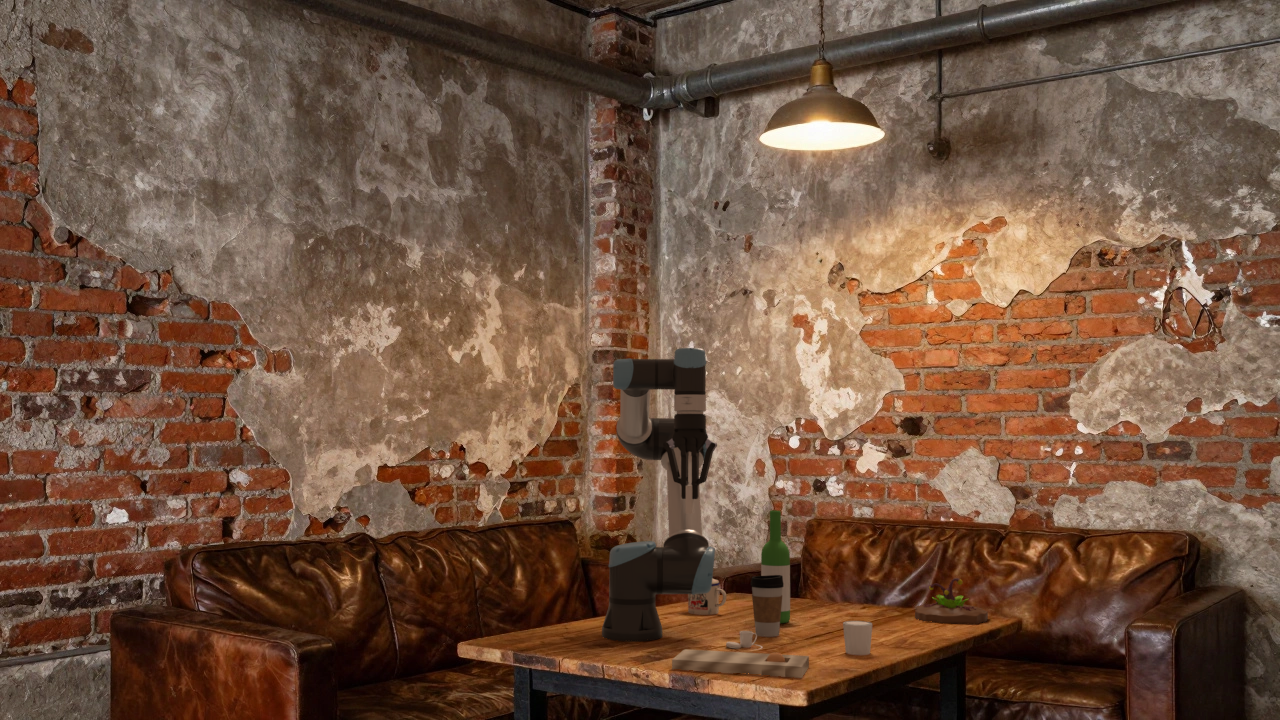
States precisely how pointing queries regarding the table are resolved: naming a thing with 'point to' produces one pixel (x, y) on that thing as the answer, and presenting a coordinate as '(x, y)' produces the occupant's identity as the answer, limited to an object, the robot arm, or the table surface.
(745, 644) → the teacup and saucer
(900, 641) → the table surface
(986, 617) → the plant
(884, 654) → the table surface
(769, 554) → the wine bottle
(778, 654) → the ball
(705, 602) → the teacup with lid
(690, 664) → the box with square hole
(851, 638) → the white cup
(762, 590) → the coffee cup
